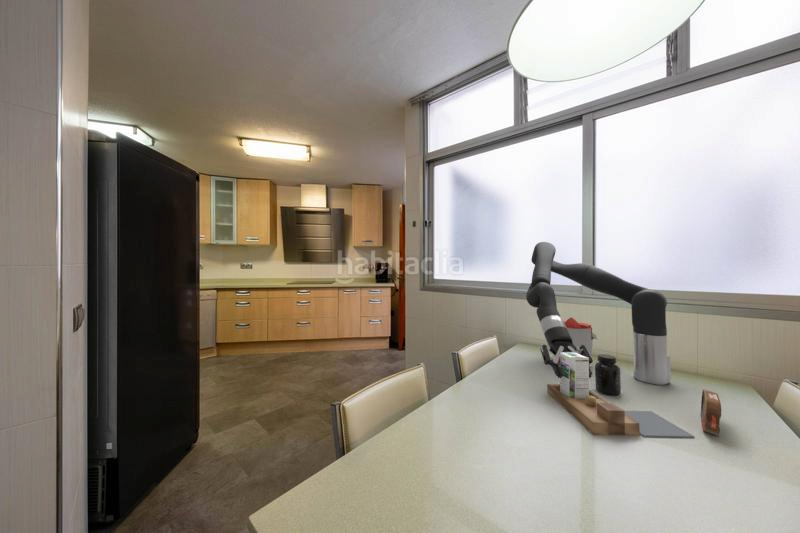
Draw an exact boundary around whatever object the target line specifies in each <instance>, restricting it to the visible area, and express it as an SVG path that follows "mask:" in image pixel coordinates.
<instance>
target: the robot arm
mask: <svg viewBox="0 0 800 533" xmlns="http://www.w3.org/2000/svg"><path fill="white" fill-rule="evenodd" d="M556 251H557V250H556V246H555V245H554V244H553V243H550V242H547V241H540V242H538V243H536V244H535V246H534V248H533V251H532V254H531V263H532V264H533V265H534V268H533V270H532V276H531V283H530V285H529V287H528V289H527V292H526V296H525V298H526V301H527V303H528V305H530V306H531V307H533V308H537V309H536V315H537V318H538V320H539V322H540V327H541V331H542V333H543V335H544V338H545V341H546V343H547V345H548V346H547V345H546V344H543V345H541V347H540V353H541V357H542V360H543V363H544V365H546V366H551V367H552V369H553V372H554V375H555V376H556V377H557V378H558V379H560V378H562V377H563V373H562V371H561V368H560V363H559V362H558V360H559V359H560V353H563V352H574V353H577V354H581V355H582V356H585V357H588V358H589V366H590V365H591V364H592V363H593V362H594V360H593V358H592V355H591V356H590V354H589V353H588V351H587V349H586V347H585V346H584V345H581V346H580V347H576V346H575V345H574V344H573V342H572V338H571V336H570V334H569V332H568V330H567V328H566V326H565V323H564V322H563V321H564V320H563V319H562V317H561V315H560V312H559V311H558V308H557V300H556V299H557V298H556V292H555V290H554V289H553V287H552V286H551V282H552V281H551V279H552V276H551V275H552V273H554V274H557V275H559V276H561V277H564V278H566V279H569V280H571V281H574V282H575V283H578V284H580V285H582V286H583V287H585V288H588V289H590V290H593V291H595V292H599V293H601V294H605V295H609V296H612V297H614V298H618V299H619V300H622V301H624V302H626V303H628V304H629V305H631V324H632V335H633V340H632V342H633V377H634V378H635V380H637V381H640V382H643V383H648V384H653V385H661V386H663V385H664V386H665V385H668V384H671V381H672V380H671V356H669V355H668V334H667V333H668V330H667V323H666V322H667V320H666V319H667V318H666V316H667V314H666V313H667V312H666V311H667V309H666V308H667V306H668V302H667V298H666V297H665V295H664V294H663V293H661V292H659V291H657V290H654V289H651V288H648V287H644V286H641V285H638V284H635V283H632V282H629V281H628V280H627V281H626V280H625V279H623V278H621V277H619V276H617V275H615V274H613V273H610V272H608V271H606V270H604V269H602V268H600V267H598V266H595V265H592V264H590V263H586V262H585V263H584V262H581V263H571V264H570V263H569V264H567V263H560V262H558V261H556V260H554V259H555V255H556V253H557V252H556ZM576 351H578V352H576ZM549 352H550V353H551V354H553V357H552V359H551V355H550V353H549ZM592 375H593V372H592V370H591V368H590V367H589V379H590V378H592Z"/></svg>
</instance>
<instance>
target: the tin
mask: <svg viewBox="0 0 800 533" xmlns="http://www.w3.org/2000/svg"><path fill="white" fill-rule="evenodd" d="M701 393H702V394H701V401H700V402H701V404H700V405H701V406H700V422H701V427H702V428H701V429H702V432H705V433H709V434H712V435H715V436H719V435H720V433H721V429H720V424H721V423H720V422H721V417H722V403H721V400H720V397H719V395H718V393H716V392H714V391H710V390H706V389H702V392H701Z"/></svg>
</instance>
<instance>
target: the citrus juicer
mask: <svg viewBox="0 0 800 533" xmlns="http://www.w3.org/2000/svg"><path fill="white" fill-rule="evenodd" d="M563 322H564V323H565V326H566V328H567V330H568V332H569V334H570V336H571V338H572V342H573V344H574V345H575V346H576V347H580V346H581V345H584V346H585V347H586V349H587V351H588V353H589V354H590V356H591V357H592V354H593V346H594V344H593V343H594V342H593V340H599V337H598V336H597V334H595V333H593V328H592V324H589V323H584V322H578V321H577V320H576V319H575V318H574V317H569V318H567V319H566V320H563ZM576 352H578V351H576ZM580 355H581V354H580ZM557 363H560V359H559V360H558V362H557Z"/></svg>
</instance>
